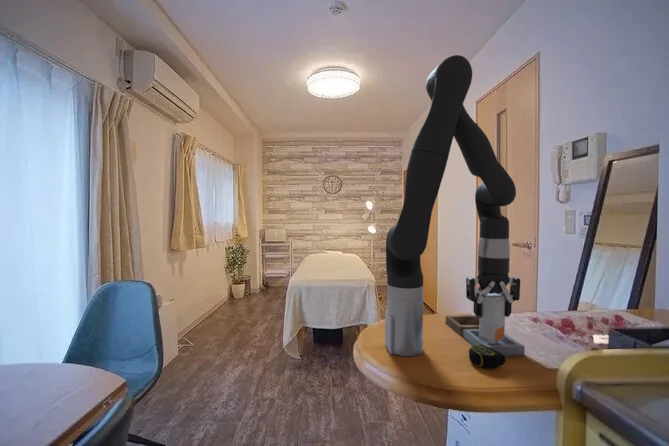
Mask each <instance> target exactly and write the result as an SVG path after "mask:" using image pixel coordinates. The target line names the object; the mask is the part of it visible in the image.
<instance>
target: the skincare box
mask: <svg viewBox="0 0 669 446" xmlns="http://www.w3.org/2000/svg"><path fill="white" fill-rule="evenodd" d="M481 304H482V317H479V324H478V325H479V338H480V339H481V340H482V341H485V342H488V343H491V344H495V343H497V342H499V341H501V340H503V339H504V333H505V327H506V326H505V322H506V316H505V296H503V295H500V294H499V293H492V294H489V293H488V295H487V296H486V297H485V298H484V299H483V301H482V302H481Z"/></svg>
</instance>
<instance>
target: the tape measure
mask: <svg viewBox="0 0 669 446" xmlns="http://www.w3.org/2000/svg"><path fill="white" fill-rule="evenodd" d="M468 359H469V362H471V364H473V365H475V366H477V367H479V368H482V369H487V370H493V369H494V370H496V369H498V368H499V367H501V366H503V365H505V364H506V357H505V356H504V355H503V354H501V353H500V352H498V351H496V350H493V349H491V348H489V347H487V346H484V345H482V344H481V345H479V346H472V345H471V346H470V348H469V349H468Z"/></svg>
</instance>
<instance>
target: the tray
mask: <svg viewBox="0 0 669 446" xmlns="http://www.w3.org/2000/svg"><path fill="white" fill-rule="evenodd" d="M463 339H464V340H465V341H466V342H467V343H468V344H469V345H471V347H472V346H479V345H481V344H482V345H484V346H487V347H489V348H491V349H493V350H496V351H498V352H500V353H501V354H503V355H504V356H505V358H506V357H525V345H523V344H522V343H520V342H519V341H517V340H516V339H514V338H513V337H511V336H509V335H508V334H506V333H505V332H504V339H503V340H501V341H499V342H497V343H495V344H491V343H488V342H485V341H482V340H481V339H480V338H479V329H465V330H464V335H463Z"/></svg>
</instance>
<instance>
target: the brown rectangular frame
mask: <svg viewBox="0 0 669 446" xmlns="http://www.w3.org/2000/svg"><path fill="white" fill-rule="evenodd" d="M445 324H446V326H448V327H449V328H450V329H452V331H454V332H455V333H456V334H457V335H459V336H464V330H465V329H479V317H477V316H476V315H475V314H469V315H468V314H467V315H463V314H462V315H445Z"/></svg>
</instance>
